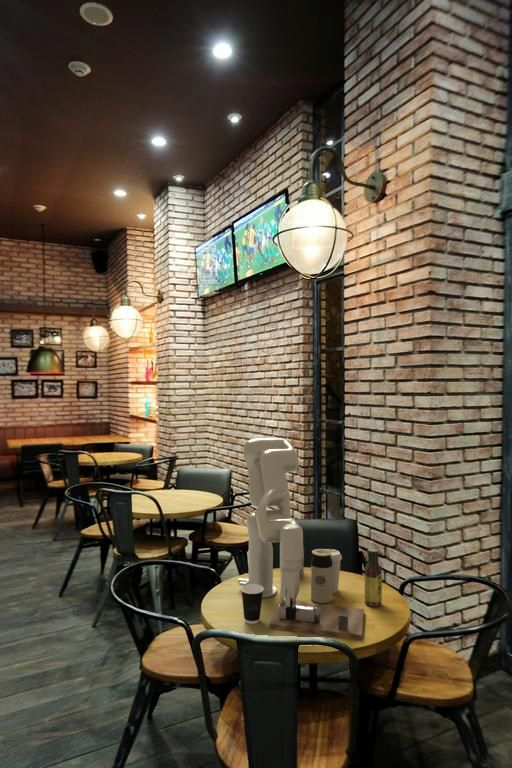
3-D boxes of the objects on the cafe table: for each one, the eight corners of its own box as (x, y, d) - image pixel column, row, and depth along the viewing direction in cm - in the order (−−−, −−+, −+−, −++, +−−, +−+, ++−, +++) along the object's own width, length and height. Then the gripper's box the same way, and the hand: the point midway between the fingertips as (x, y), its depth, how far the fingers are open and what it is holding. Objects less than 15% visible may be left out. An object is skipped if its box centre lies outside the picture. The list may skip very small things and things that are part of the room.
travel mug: (316, 593, 197) (316, 547, 198) (335, 598, 193) (335, 550, 194) (307, 601, 191) (307, 552, 191) (327, 605, 186) (327, 556, 187)
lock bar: (279, 618, 171) (279, 603, 171) (280, 615, 174) (280, 600, 174) (319, 623, 168) (319, 607, 168) (320, 619, 170) (320, 604, 170)
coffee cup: (345, 588, 203) (345, 551, 203) (335, 596, 195) (336, 557, 195) (323, 583, 208) (323, 547, 208) (313, 591, 200) (313, 553, 200)
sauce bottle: (382, 608, 184) (382, 553, 185) (364, 606, 186) (364, 552, 186) (381, 601, 191) (381, 548, 191) (364, 599, 192) (364, 547, 192)
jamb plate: (269, 628, 168) (269, 610, 168) (281, 604, 188) (281, 587, 188) (361, 639, 161) (361, 620, 161) (363, 613, 180) (364, 596, 180)
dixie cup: (249, 613, 179) (250, 582, 180) (268, 619, 175) (268, 587, 175) (235, 621, 173) (235, 589, 173) (254, 628, 168) (254, 594, 168)
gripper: (284, 555, 176) (284, 608, 175) (275, 569, 161) (274, 627, 161) (305, 557, 174) (305, 610, 174) (298, 571, 159) (298, 630, 159)
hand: (290, 618), depth 167 cm, fingers closed
